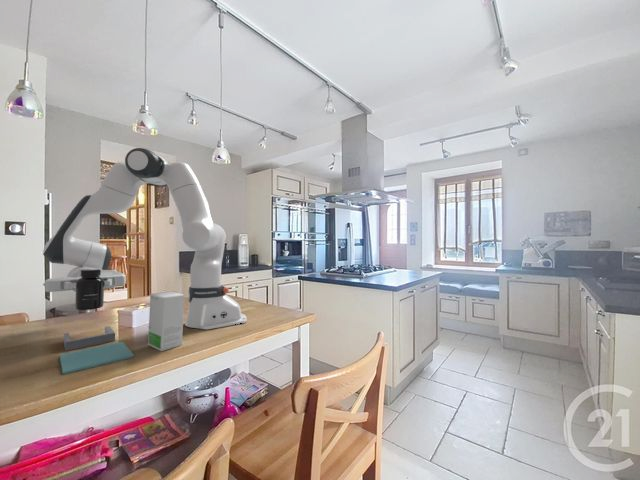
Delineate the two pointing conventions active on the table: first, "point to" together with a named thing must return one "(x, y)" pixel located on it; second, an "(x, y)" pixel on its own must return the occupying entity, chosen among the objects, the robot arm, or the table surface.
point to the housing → (88, 340)
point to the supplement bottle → (89, 290)
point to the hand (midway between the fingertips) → (90, 284)
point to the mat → (94, 357)
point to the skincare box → (166, 320)
